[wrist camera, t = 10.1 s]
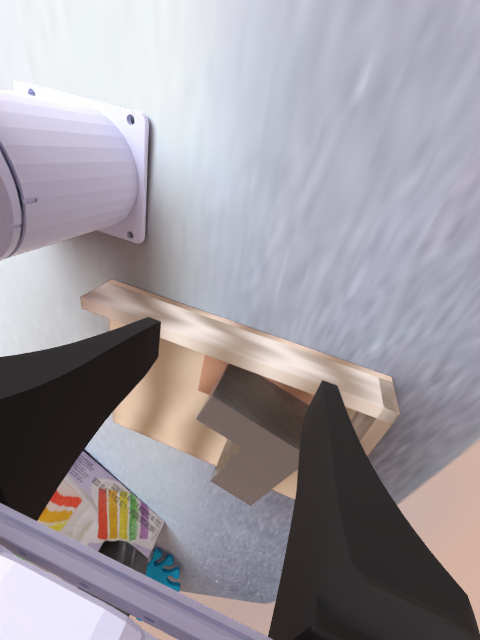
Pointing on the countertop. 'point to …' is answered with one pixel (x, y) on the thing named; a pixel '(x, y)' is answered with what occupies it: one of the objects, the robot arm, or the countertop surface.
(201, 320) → the board
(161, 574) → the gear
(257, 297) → the countertop surface
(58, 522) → the cake pan box
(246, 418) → the bracket
